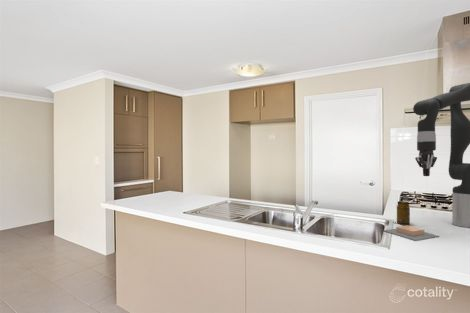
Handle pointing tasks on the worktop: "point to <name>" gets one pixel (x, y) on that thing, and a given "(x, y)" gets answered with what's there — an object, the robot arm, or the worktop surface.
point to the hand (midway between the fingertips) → (426, 176)
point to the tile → (410, 230)
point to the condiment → (403, 213)
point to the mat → (415, 238)
